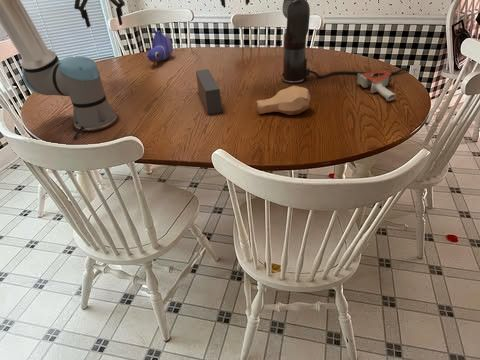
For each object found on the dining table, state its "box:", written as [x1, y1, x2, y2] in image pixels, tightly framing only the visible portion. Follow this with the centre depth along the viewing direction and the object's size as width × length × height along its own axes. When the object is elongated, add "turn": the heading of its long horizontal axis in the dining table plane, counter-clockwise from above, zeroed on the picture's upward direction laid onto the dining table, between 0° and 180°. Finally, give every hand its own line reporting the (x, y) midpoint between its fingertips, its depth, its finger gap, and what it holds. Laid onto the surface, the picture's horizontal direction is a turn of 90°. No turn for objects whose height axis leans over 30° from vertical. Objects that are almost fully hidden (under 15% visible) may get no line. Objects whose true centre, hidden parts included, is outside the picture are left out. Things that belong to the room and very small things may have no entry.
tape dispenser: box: [356, 69, 397, 102], centre depth 142 cm, size 18×5×20 cm
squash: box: [255, 85, 312, 116], centre depth 130 cm, size 11×20×9 cm, turn 92°
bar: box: [195, 68, 223, 116], centre depth 140 cm, size 23×5×9 cm, turn 14°
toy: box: [146, 29, 174, 67], centre depth 185 cm, size 10×17×25 cm
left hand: (105, 25), depth 152 cm, fingers open, 13 cm apart
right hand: (235, 5), depth 134 cm, fingers open, 8 cm apart
